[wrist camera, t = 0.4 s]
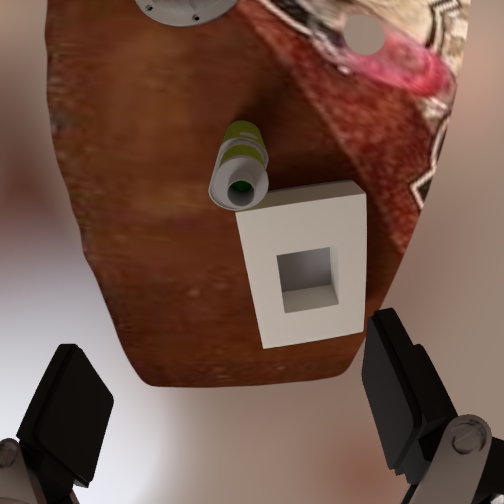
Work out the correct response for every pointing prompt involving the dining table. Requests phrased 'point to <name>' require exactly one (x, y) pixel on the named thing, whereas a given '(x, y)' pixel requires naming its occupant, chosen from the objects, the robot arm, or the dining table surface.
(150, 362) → the dining table surface
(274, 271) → the charging dock
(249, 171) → the vape
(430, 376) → the robot arm
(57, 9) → the dining table surface
